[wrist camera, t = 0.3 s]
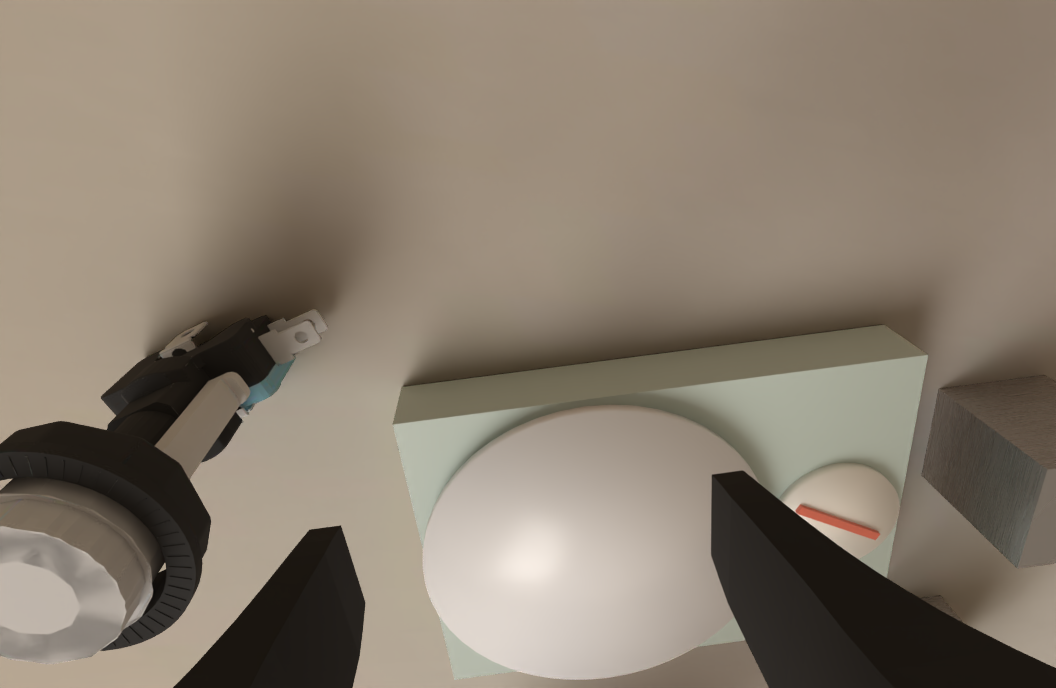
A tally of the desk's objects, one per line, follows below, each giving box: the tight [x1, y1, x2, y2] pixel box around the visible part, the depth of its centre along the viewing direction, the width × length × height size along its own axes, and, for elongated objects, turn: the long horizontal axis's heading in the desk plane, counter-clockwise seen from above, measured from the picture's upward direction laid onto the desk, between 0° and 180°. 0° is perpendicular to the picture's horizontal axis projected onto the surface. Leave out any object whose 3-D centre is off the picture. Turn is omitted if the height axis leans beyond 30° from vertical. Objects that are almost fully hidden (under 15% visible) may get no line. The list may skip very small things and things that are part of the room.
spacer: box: [922, 375, 1056, 568], centre depth 22 cm, size 4×4×5 cm
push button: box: [0, 309, 328, 664], centre depth 16 cm, size 7×5×10 cm
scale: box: [393, 325, 928, 680], centre depth 23 cm, size 12×17×3 cm
